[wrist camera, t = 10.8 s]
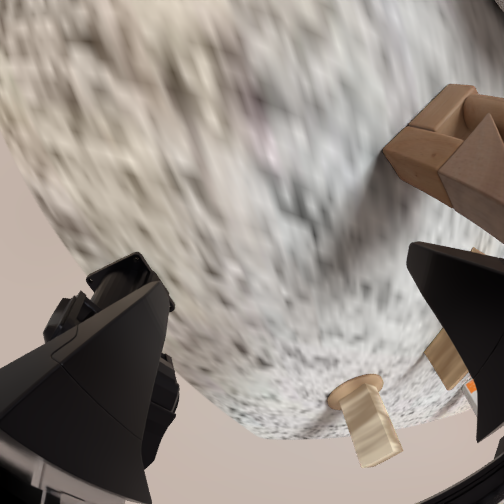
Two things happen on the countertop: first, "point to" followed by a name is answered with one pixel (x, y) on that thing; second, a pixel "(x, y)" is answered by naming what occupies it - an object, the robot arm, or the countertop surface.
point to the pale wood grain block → (370, 426)
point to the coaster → (353, 388)
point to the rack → (447, 357)
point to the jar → (500, 4)
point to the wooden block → (457, 154)
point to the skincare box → (471, 394)
